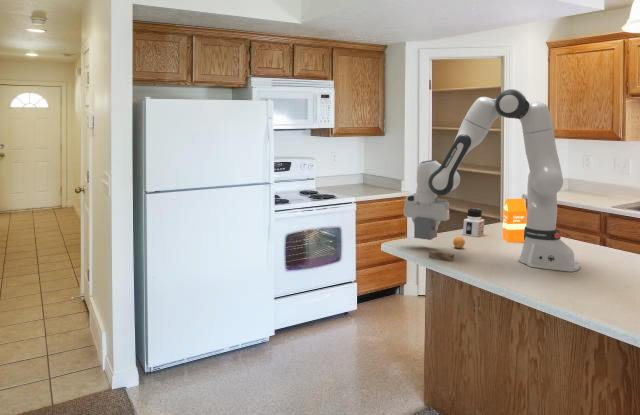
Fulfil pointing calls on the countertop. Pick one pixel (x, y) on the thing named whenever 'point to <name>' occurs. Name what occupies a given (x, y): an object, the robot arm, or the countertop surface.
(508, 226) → the orange juice
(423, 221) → the matte gray box
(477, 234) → the container
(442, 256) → the bar
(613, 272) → the countertop surface
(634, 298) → the countertop surface
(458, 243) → the ball
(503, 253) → the countertop surface
